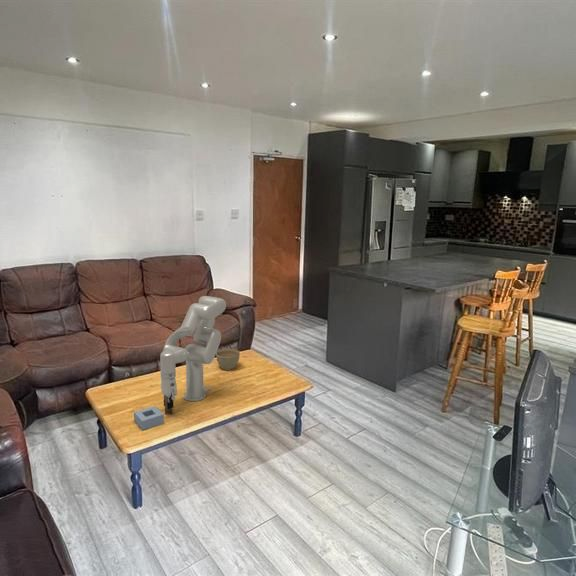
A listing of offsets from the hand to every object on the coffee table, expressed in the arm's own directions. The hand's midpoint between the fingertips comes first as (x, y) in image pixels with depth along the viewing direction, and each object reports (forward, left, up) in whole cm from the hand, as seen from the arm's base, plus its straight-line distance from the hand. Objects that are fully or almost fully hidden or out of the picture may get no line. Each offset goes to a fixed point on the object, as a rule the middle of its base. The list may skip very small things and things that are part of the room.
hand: (168, 406), depth 219 cm
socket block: (+12, +3, -4) cm, 13 cm away
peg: (0, 0, -4) cm, 4 cm away
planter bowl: (-58, -34, -4) cm, 67 cm away
